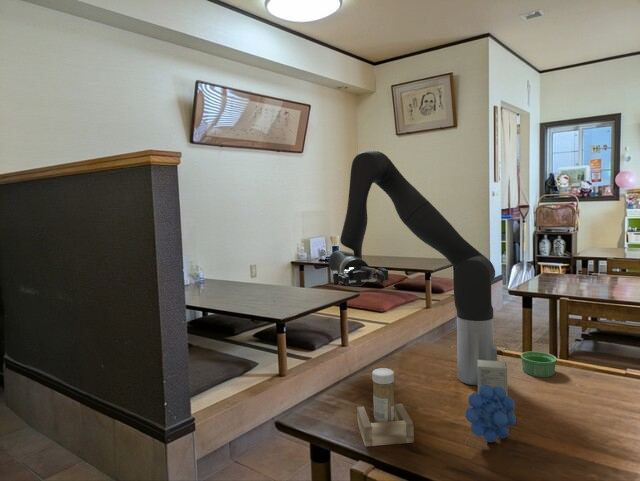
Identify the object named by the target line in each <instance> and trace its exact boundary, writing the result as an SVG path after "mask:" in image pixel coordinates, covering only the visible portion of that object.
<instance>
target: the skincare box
mask: <svg viewBox="0 0 640 481" xmlns="http://www.w3.org/2000/svg"><path fill="white" fill-rule="evenodd" d="M507 366H508V365H507V361H506V360H497V361H493V360H477V373H478V385H477V394H479V388H480V387H481V386H482V385H489V386H490V387H491V388H492V389H493V387H496V386H500V387H502V388H503V389H504V390H505V392H506V396H507V397H509V396H508V395H509V394H508V393H509V392H508V367H507ZM479 395H480V394H479Z"/></svg>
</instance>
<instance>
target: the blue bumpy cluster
mask: <svg viewBox="0 0 640 481" xmlns="http://www.w3.org/2000/svg"><path fill="white" fill-rule="evenodd" d="M479 394H480V395H479ZM479 394H478V392H476V393H474V392H473V393H470V394H469V396H468V405H469V406H470V407H467V409H465V412H464V413H465V414H464V415H465V418H466V420H467V421H468V422H469V423H471V425H470V429H471V430H470V431H471V432H472V434H473V435H474V436H476V437H483V439H484V441H486V442H488V443H493V442H496V441H497V439H498V438H501V439H506V438H507V437H508V436H509V435H510V429H509V427H512V426H514V425H516V422H517V417H516V415H515V413H513V412H512V411H514V410H515V408H516V402H515V401H514V399H513V398H512V397H510V396H508V397H507V396H506V392H505V390H504V389H503V388H502V387H500V386H496V387H493V389H492V388H491V387H490V386H489V385H482V386H481V387H480V388H479Z"/></svg>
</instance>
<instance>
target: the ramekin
mask: <svg viewBox="0 0 640 481" xmlns="http://www.w3.org/2000/svg"><path fill="white" fill-rule="evenodd" d="M520 358H521V367H522V371H523V372H524V373H525V374H527V375H529V376H532V377H538V378H539V377H540V378H542V377H543V378H547V377H548V378H549V377H553V376H554V375H555V373H556V364H557V360H558V358H557V357H556V356H555V355H553V354H551V353H547V352H545V351H544V352H543V351H532V350H531V351H524V352H522V353H521V354H520Z"/></svg>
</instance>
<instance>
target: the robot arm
mask: <svg viewBox="0 0 640 481" xmlns="http://www.w3.org/2000/svg"><path fill="white" fill-rule="evenodd" d="M373 184H376V185H377V186H378V187H379V188H381V189H382V191H383V192H385V193H386V195H387V196H388V197H389V198H390V200H391V202H392V204H393V206H394V209H395V211H396V213H397V216H398V217H399V219H400V220H401V222H402V223H403V224H404V225H405V226H406V227H407V228H408V229H409V231H410V232H411V233H413V234H414V236H416V237H417V238H418V239H419V240H420V241H422V242H423V243H425V244H426V245H428V246H429V247H431V248H432V249H434V250H435V251H437V252H439V253H440V254H441V255H442V256H443V257H444V258H446V260H447V261H448V262H449V264H451V265H452V266H453V267H454V272H453V274H454V275H453V295H454V306H455V310H456V341H457V342H456V344H457V345H456V347H457V349H456V351H457V354H456V356H457V358H456V359H457V360H456V361H457V378H458V380H459V381H460V382H462V383H463V384H464V383H465V384H466V385H471V386H478V373H477V360H493V361H498V350H497V349H498V348H497V346H496V345H495V344H494V307H493V305H492V291H491V290H492V288H491V287H492V286H491V285H492V284H493V282H494V280H495V278H496V270H495V269H496V268H495V267H494V264H493V262H492V261H491V260H490V259H489V258H487V257H486V256H485V255H484V254H482V253H481V252H480V251H479V250H477V249H476V248H475V247H474V246H473V245H471V243H469V242H468V241H467V240H465V239H464V238H463V236H461V234H460V233H459V232H458V231H457V230H456V228H455V227H454V226H453V224H451V223H450V222H449V221H448V220H447V219H446V218H445V216H443V214H442V213H441V212H440V211H439V210H438V209H437V208H436V207H435V206H434V204H432V203H431V202H430V201H429V200H428V199H427V198H426V197H425V196H424V195H422V193H421V192H419V191H418V189H417V188H416V187H415V186H413V185H412V184H411V183H410V182H409V181H408V180H407V179H406V178H405V176H403V174H402V172H400V170H398V168H397V167H396V166H395V164H394V163H393V162H392V161H391V159H390V158H389V157H388V156H387V155H386V154H385V153H383V152H381V151H378V150H377V151H376V150H373V151H372V150H371V151H368V150H367V151H361V152H359V153H357V155H355V157H354V158H353V159H352V163H351V167H350V177H349V189H348V200H347V207H346V214H345V218H344V219H345V220H344V223H343V226H342V230H341V234H340V238H339V241H340V244H341V245H342V246H344V247H345V248H347V249H349V250H352V251H353V252H349V251H344V250H335V251H333V252H332V253H331V254H330V256H329V258H328V266H329V269H330V270H331V272H332V281H333V284H335V285H336V284H338V283H339V282H340V284H344V285H346V286H349V285H350V286H353V287H360V286H363V285H364V284H366V283H367V282H369V283H373V282H376V281H377V282H378V283H380V284H384V282H386V281H389V279H390V278H389V270H388V269H386V268H384V267H382V266H381V267H378V268H377V269H376V268H374V267H370V266H369V264H368V263H367V262H366V261H364V259H363V257H362V256H363V254H362V253H363V243H364V239H365V235H366V231H367V227H368V226H367V225H368V206H367V204H368V203H367V202H368V197H369V193H370V191H371V190H370V189H371V187H372V185H373Z"/></svg>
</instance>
